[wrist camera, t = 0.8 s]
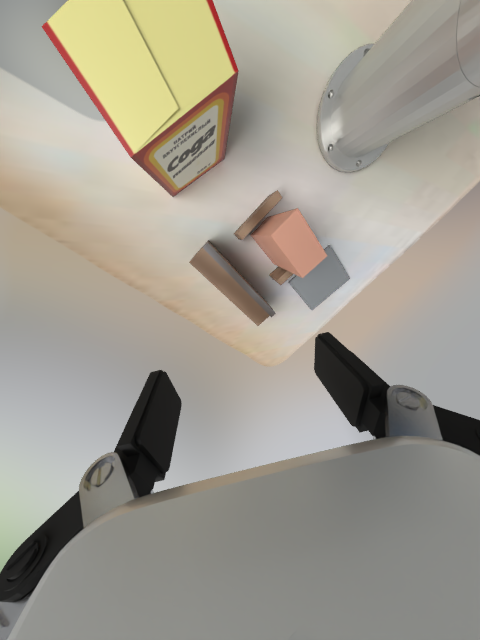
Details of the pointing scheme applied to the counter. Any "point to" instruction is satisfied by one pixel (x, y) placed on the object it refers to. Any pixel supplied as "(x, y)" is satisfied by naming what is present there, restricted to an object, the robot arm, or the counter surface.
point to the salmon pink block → (289, 242)
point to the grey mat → (321, 280)
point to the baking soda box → (154, 79)
